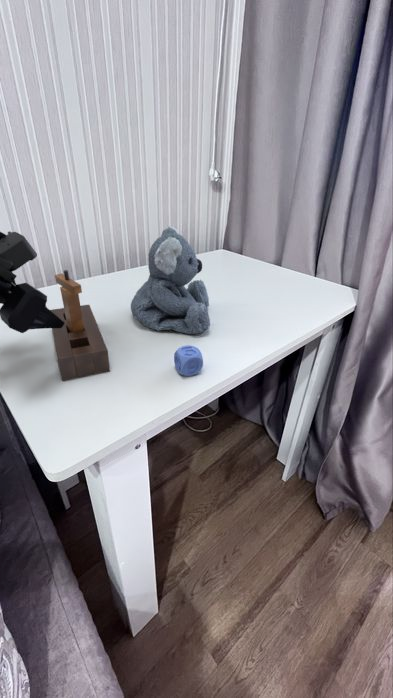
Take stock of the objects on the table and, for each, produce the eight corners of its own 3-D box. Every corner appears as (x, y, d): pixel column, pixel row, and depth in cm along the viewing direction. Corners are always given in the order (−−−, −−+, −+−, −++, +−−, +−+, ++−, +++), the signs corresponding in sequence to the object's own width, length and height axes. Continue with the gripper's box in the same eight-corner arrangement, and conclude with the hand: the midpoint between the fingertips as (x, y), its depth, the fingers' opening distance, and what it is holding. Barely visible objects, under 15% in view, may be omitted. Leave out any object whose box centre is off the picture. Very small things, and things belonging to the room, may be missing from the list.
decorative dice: (193, 361, 62) (194, 343, 60) (202, 373, 59) (204, 354, 57) (173, 365, 60) (173, 347, 58) (181, 378, 57) (182, 359, 55)
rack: (62, 381, 55) (56, 359, 53) (53, 329, 70) (48, 309, 67) (110, 371, 58) (107, 349, 56) (92, 323, 73) (89, 304, 70)
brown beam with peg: (83, 357, 61) (69, 278, 53) (65, 342, 65) (50, 266, 57) (93, 353, 63) (81, 275, 54) (76, 339, 67) (62, 263, 58)
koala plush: (210, 338, 69) (217, 243, 59) (124, 335, 69) (115, 239, 58) (208, 303, 84) (213, 222, 73) (137, 300, 83) (131, 219, 73)
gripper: (14, 229, 39) (105, 293, 52) (-33, 205, 50) (51, 262, 63) (-39, 307, 39) (66, 353, 51) (-76, 266, 50) (19, 312, 62)
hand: (50, 315), depth 57 cm, fingers open, 9 cm apart
